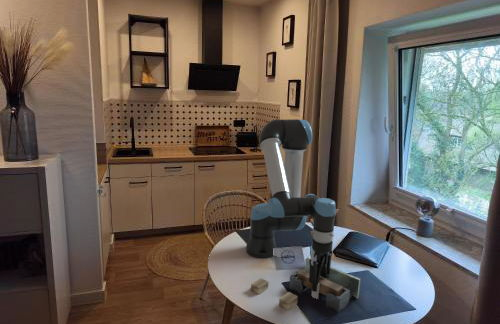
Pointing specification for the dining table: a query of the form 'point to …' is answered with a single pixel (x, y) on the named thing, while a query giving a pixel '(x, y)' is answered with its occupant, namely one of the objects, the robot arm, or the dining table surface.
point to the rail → (321, 284)
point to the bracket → (335, 276)
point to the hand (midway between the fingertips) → (318, 295)
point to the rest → (284, 301)
